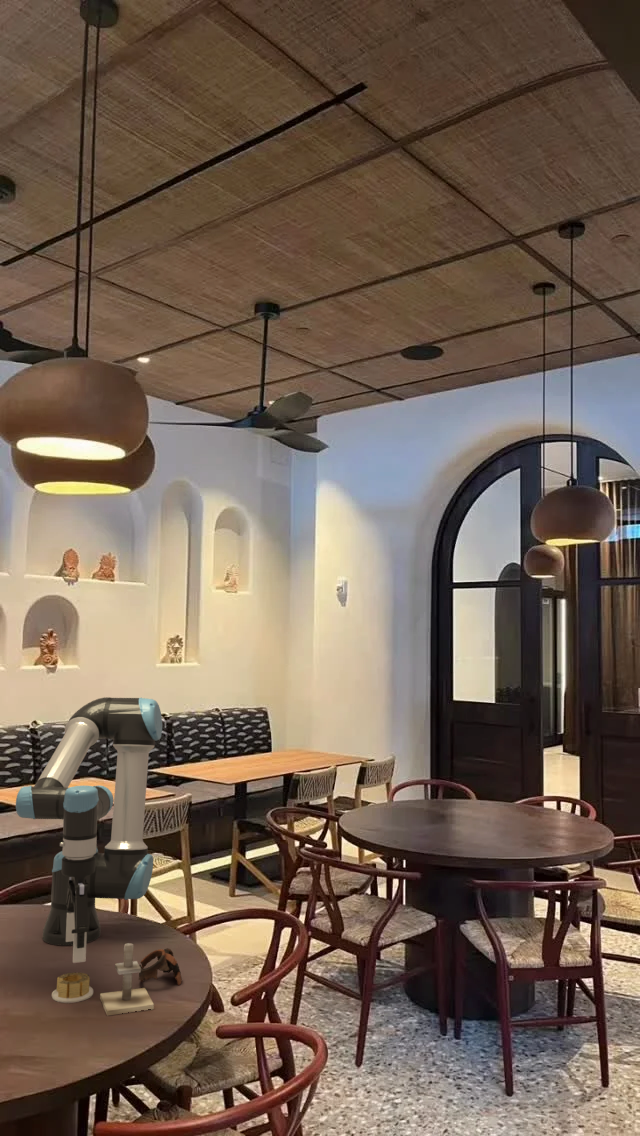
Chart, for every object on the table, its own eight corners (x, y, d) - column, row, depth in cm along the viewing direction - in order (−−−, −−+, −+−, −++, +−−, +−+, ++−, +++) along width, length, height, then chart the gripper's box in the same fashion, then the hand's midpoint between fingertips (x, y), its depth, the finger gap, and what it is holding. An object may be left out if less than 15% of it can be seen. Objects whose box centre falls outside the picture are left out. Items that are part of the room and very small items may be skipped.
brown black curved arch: (181, 992, 197) (164, 963, 196) (145, 1008, 198) (128, 979, 197) (190, 960, 209) (174, 932, 208) (156, 975, 210) (140, 948, 209)
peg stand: (99, 998, 192) (102, 940, 193) (144, 992, 196) (146, 935, 197) (106, 1015, 183) (109, 954, 184) (153, 1009, 186) (155, 949, 188)
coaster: (49, 990, 196) (50, 987, 196) (90, 985, 199) (90, 982, 199) (53, 1005, 188) (53, 1002, 188) (95, 999, 191) (95, 996, 191)
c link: (86, 984, 198) (86, 971, 198) (90, 995, 192) (91, 981, 192) (55, 988, 195) (56, 974, 196) (58, 999, 189) (59, 985, 189)
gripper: (56, 844, 207) (52, 934, 205) (68, 871, 184) (64, 973, 182) (88, 841, 209) (85, 931, 208) (103, 868, 186) (100, 968, 185)
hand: (75, 951), depth 195 cm, fingers open, 13 cm apart
